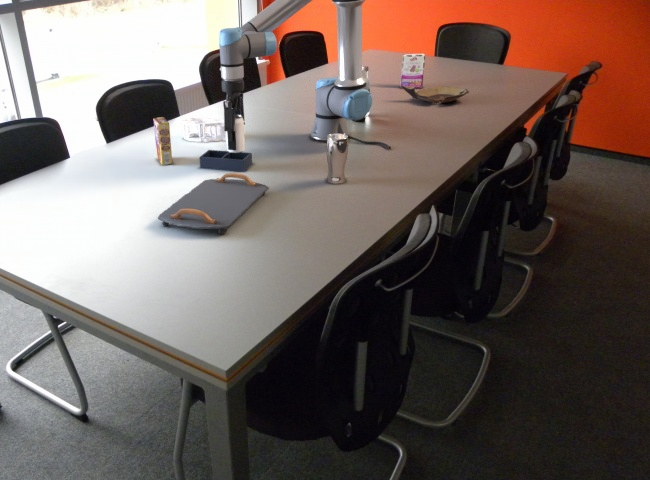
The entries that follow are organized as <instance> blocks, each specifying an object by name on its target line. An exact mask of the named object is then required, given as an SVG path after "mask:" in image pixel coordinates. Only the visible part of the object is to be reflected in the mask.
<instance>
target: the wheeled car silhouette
mask: <svg viewBox="0 0 650 480" xmlns="http://www.w3.org/2000/svg"><path fill="white" fill-rule="evenodd" d="M181 123H182V133H183V139H184V140H186V141H189V142H196V143H211V142H212V143H213V142H226V131H224V119H216V118H206V117H191V118H188V119H183V120H182V121H181ZM190 127H192V131H193V132H192V133H190ZM208 127H209V133H208V131H207V129H208ZM213 127H214V133H213ZM186 132H187V133H186ZM196 137H199V138H196Z"/></svg>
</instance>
